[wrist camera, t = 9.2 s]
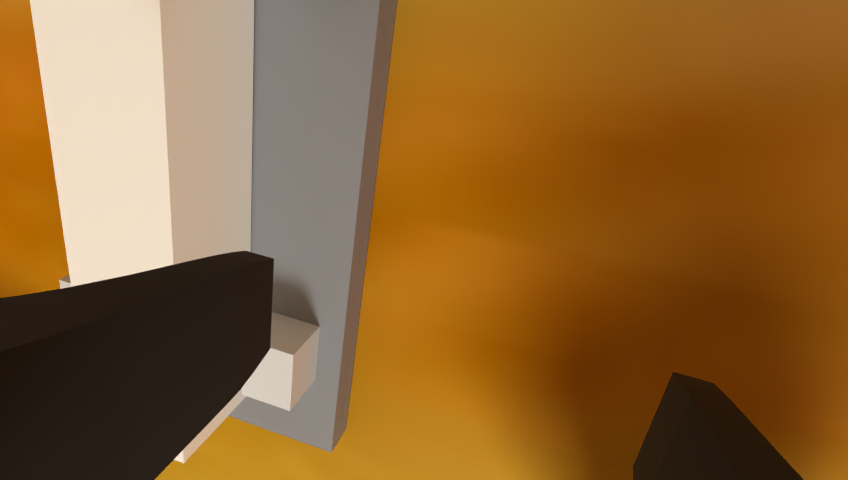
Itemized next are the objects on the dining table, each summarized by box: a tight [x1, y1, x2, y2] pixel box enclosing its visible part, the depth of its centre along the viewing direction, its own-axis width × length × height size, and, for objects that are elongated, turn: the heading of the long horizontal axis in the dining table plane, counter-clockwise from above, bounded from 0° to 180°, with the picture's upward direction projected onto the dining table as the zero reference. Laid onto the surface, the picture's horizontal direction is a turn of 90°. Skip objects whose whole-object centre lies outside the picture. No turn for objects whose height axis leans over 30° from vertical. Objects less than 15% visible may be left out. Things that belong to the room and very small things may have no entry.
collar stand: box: [59, 0, 397, 452], centre depth 18 cm, size 24×12×4 cm, turn 171°
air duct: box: [30, 0, 254, 463], centre depth 17 cm, size 21×4×4 cm, turn 171°
